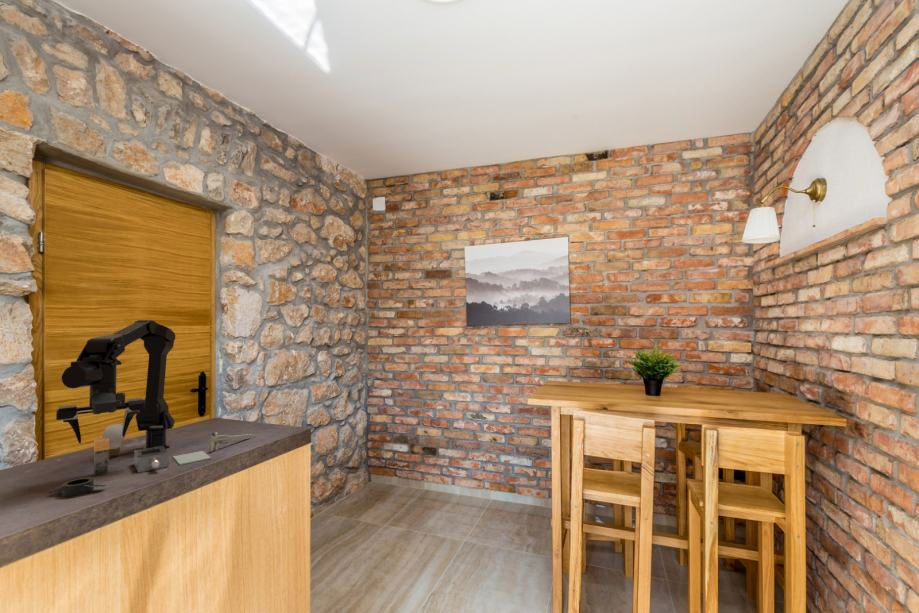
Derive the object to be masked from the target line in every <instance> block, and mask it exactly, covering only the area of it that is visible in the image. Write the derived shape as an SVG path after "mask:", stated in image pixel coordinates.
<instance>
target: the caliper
mask: <svg viewBox="0 0 919 613" xmlns="http://www.w3.org/2000/svg"><path fill="white" fill-rule="evenodd" d="M255 437H257V435H256V434H254V433H248V434H237V435H229V434H221V435H220V434H219V432H217V431H216V432H212V433H211V436H209V439H208V453H213V452H217V451H218V449H219V446H220V444H228V443H229V441H231V442H232V441H237V440H238V441H239V440H240V441H241V440H248V439H249V440H250V439H253V438H255Z"/></svg>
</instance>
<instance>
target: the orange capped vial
mask: <svg viewBox="0 0 919 613" xmlns="http://www.w3.org/2000/svg"><path fill="white" fill-rule="evenodd" d="M93 443H94V444H93V451H94V452H93V455H94V456H93V458H94V459H93V476H101V475H105V474H108V473H109V439H108V438H107V439H103V438H102V439H101V438H100V439H94V441H93Z"/></svg>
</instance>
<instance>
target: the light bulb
mask: <svg viewBox="0 0 919 613" xmlns="http://www.w3.org/2000/svg"><path fill="white" fill-rule="evenodd" d="M122 428H123V424H120V423H112V424H110V425H108V426H106V428H105V429H104V430H103V431H102V435H101V436H102V439H107V438H108V439H109V453H108V456H110V457H112V458H115V457H117V456H118V455H119V454H120V452H121V451H120V450H121V446H122V443H123V441H124V439H125V438H126V437H127V431H128V430H127V431H126V434H125V436H124V437H123V436H122Z"/></svg>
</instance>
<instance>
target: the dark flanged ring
mask: <svg viewBox="0 0 919 613" xmlns="http://www.w3.org/2000/svg"><path fill="white" fill-rule="evenodd" d="M105 486H107V484H95V478H94V477H80V478H75V479H72V480H69V481H66V482H64V483H62V484H61V485H60V486H58V487H55V488H52V489H51V490H50V491H49V492H48V494H52V493H61V497H62V498H65V499H66V498H68V499H70V498H76V497H80V496H85V495H87V494H90V493H92V492H94V490H95V488H96V487H105Z"/></svg>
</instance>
